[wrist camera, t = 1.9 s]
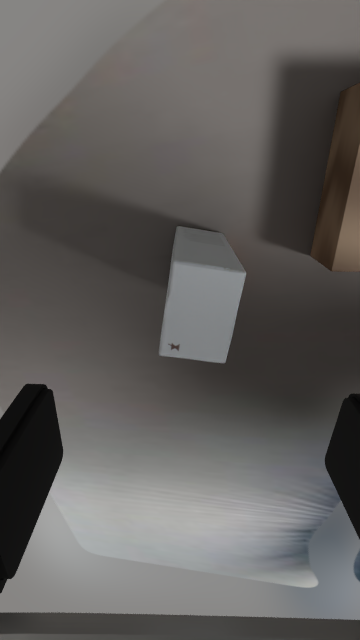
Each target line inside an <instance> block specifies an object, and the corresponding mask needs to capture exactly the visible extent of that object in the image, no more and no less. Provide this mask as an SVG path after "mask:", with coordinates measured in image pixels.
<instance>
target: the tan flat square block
mask: <svg viewBox="0 0 360 640" xmlns="http://www.w3.org/2000/svg"><path fill="white" fill-rule="evenodd" d="M310 256H311V257H313V258H314V259H315V260H317V261H318V262H319V263H321V264H322V265H324V266H325V267H326V268H328V269H329V270H330V271H336V272H360V83H358V84H356V85H354V86H352V87H350V88H348V89H346V90H344V91H342V92H341V93H340V99H339V104H338V109H337V115H336V120H335V126H334V131H333V136H332V142H331V147H330V153H329V158H328V163H327V169H326V174H325V180H324V185H323V190H322V196H321V201H320V207H319V212H318V217H317V223H316V228H315V233H314V239H313V244H312V250H311V255H310Z"/></svg>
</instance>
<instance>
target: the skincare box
mask: <svg viewBox="0 0 360 640" xmlns="http://www.w3.org/2000/svg"><path fill="white" fill-rule="evenodd" d="M245 277H246V271H245V270H244V268H243V266H242V264H241V263H240V261H239V259H238V258H237V256H236V254H235V253H234V251H233V249H232V247H231V246H230V244H229V243H228V241H227V239H226V237H225V236H224V234H223V233H219V232H212V231H206V230H200V229H194V228H188V227H182V226H177V228H176V233H175V239H174V245H173V251H172V258H171V266H170V274H169V281H168V288H167V295H166V302H165V309H164V316H163V323H162V330H161V338H160V345H159V355H160V356H166V357H176V358H184V359H192V360H199V361H207V362H215V363H225V362H226V358H227V354H228V350H229V347H230V343H231V339H232V335H233V330H234V325H235V320H236V316H237V311H238V307H239V303H240V298H241V294H242V290H243V285H244V281H245Z"/></svg>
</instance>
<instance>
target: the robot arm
mask: <svg viewBox="0 0 360 640" xmlns="http://www.w3.org/2000/svg"><path fill="white" fill-rule="evenodd" d="M62 457H63V446H62V441H61V435H60V430H59V424H58V418H57V413H56V407H55V401H54V396H53V391H52V390H51V389H48V388H47V386H46V385H44V384H26V385H25V386H24V387H23V388H22V390H21V391H20V392H19V394H18V395H17V397H16V398H15V399H14V401H13V402H12V403H11V405H10V406H9V408H8V409H7V410H6V412H5V413H4V415H3V416H2V418H1V419H0V593H1V592H2V590H3V588H4V585H5V583H6V581H7V579H11V578H13V577H14V575H15V573H16V571H17V569H18V567H19V564H20V562H21V559H22V556H23V554H24V552H25V549H26V547H27V544H28V542H29V540H30V537H31V535H32V532H33V530H34V527H35V525H36V522H37V520H38V518H39V515H40V513H41V510H42V508H43V505H44V503H45V500H46V498H47V496H48V493H49V491H50V488H51V486H52V483H53V481H54V478H55V476H56V473H57V471H58V469H59V466H60V464H61V461H62ZM325 465H326V469H327V471H328V473H329V475H330V477H331V480H332V482H333V484H334V486H335V488H336V490H337V492H338V494H339V497H340V499H341V501H342V503H343V505H344V507H345V509H346V511H347V514H348V516H349V518H350V520H351V522H352V524H353V526H354V528H355V531H356V533H357V535H358V537H359V539H360V394H350V395H349V397H348V398H345V399H344V401H343V403H342V406H341V409H340V412H339V416H338V419H337V422H336V425H335V428H334V431H333V434H332V437H331V440H330V444H329V447H328V450H327V453H326V456H325ZM0 640H360V620H341V619H308V618H307V619H305V618H275V617H274V618H273V617H237V616H236V617H235V616H195V615H155V614H105V613H0Z"/></svg>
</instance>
